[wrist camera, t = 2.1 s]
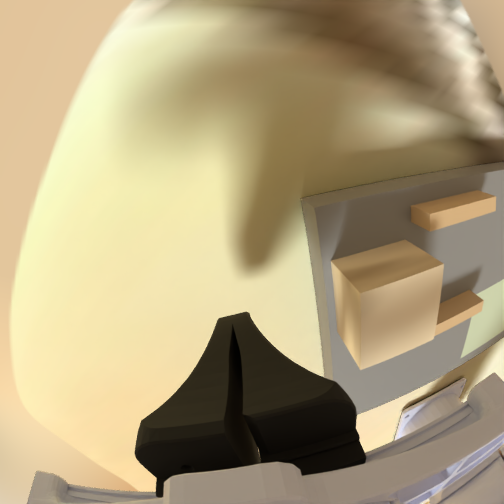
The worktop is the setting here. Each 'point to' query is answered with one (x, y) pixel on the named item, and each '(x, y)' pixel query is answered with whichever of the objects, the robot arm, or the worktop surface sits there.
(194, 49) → the worktop surface
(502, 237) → the board
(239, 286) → the worktop surface
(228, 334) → the robot arm
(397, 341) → the birch block
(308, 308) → the worktop surface
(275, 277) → the worktop surface
